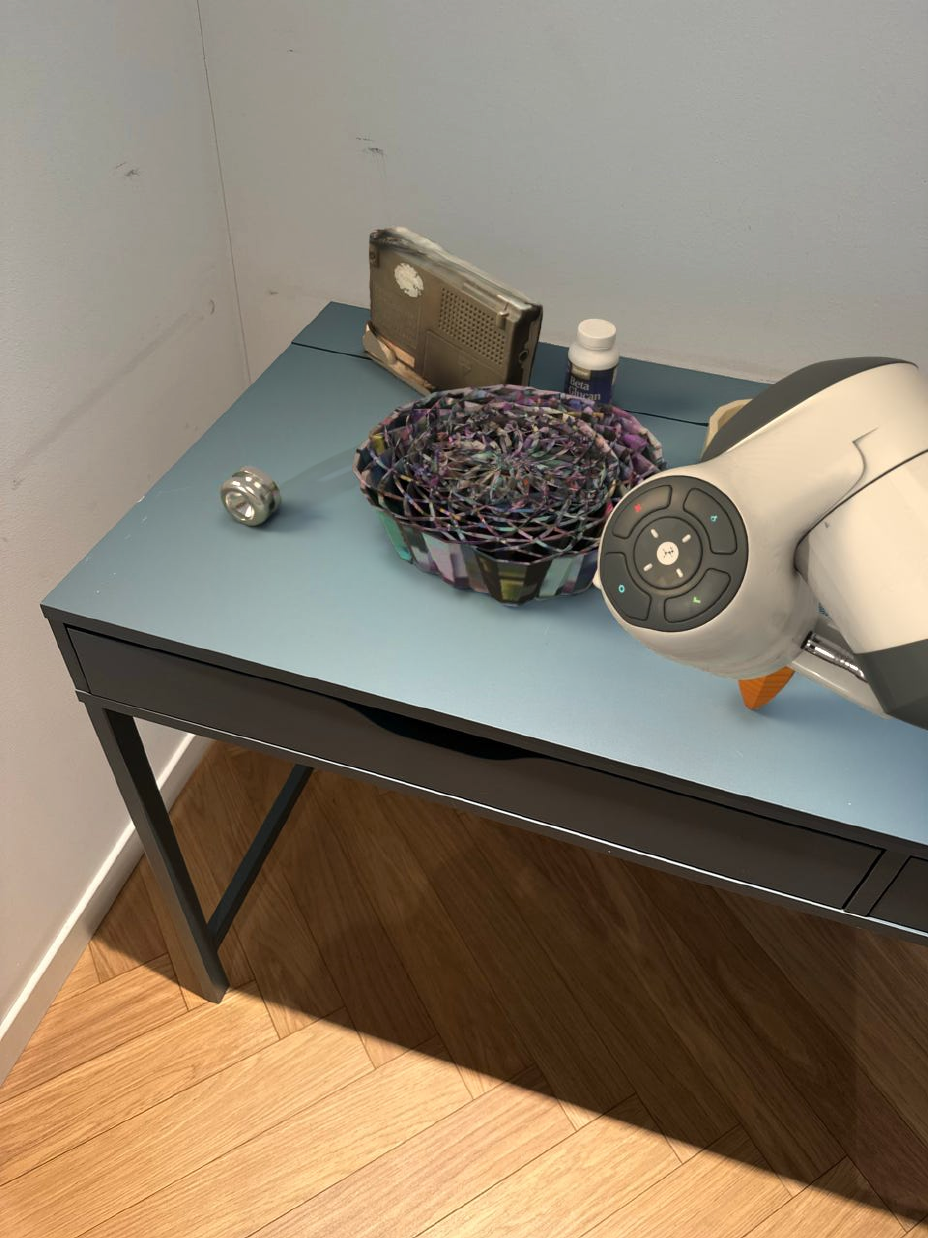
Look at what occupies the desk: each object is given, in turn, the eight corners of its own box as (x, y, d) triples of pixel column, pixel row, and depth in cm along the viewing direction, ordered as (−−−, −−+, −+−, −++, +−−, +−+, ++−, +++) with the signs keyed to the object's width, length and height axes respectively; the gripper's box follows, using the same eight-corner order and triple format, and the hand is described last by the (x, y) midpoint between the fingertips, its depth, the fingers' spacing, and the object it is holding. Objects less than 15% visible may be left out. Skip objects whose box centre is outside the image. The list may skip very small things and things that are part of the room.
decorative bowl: (616, 676, 81) (644, 592, 73) (311, 586, 84) (308, 498, 77) (662, 495, 98) (688, 414, 91) (407, 428, 102) (413, 344, 94)
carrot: (785, 693, 77) (842, 552, 67) (778, 739, 74) (837, 599, 63) (723, 677, 78) (770, 536, 68) (714, 721, 75) (761, 580, 64)
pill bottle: (559, 419, 104) (568, 337, 97) (564, 393, 108) (573, 312, 101) (609, 425, 104) (622, 343, 97) (612, 398, 107) (624, 317, 100)
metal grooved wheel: (283, 517, 91) (277, 474, 88) (266, 535, 89) (259, 492, 86) (240, 501, 93) (232, 459, 89) (221, 519, 91) (213, 476, 87)
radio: (546, 420, 104) (559, 289, 93) (484, 448, 100) (490, 315, 89) (419, 333, 116) (417, 209, 106) (359, 354, 113) (351, 228, 102)
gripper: (939, 642, 51) (939, 663, 63) (619, 483, 60) (673, 528, 72) (877, 744, 52) (889, 745, 64) (569, 571, 61) (631, 601, 73)
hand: (772, 629), depth 68 cm, fingers open, 8 cm apart
